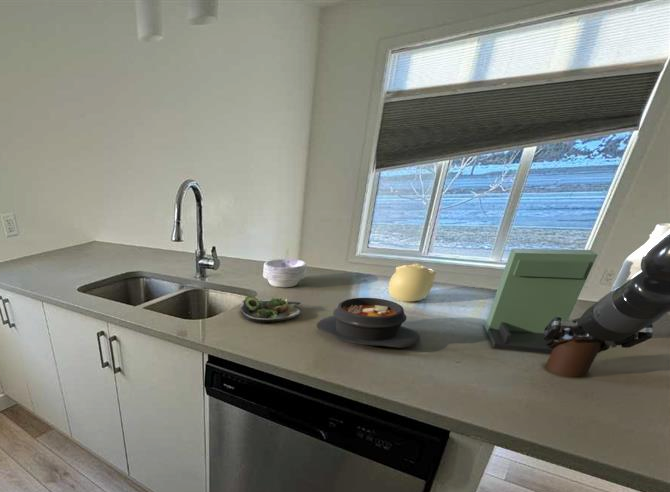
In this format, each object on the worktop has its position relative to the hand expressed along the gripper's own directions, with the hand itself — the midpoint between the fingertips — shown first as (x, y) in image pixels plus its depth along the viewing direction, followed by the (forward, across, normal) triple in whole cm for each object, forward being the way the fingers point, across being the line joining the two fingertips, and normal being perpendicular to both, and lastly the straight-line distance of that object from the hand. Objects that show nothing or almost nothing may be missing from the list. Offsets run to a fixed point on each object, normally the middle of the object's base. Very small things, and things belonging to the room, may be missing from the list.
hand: (572, 346), depth 84 cm
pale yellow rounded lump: (+31, +29, -24) cm, 49 cm away
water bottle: (+19, -14, -12) cm, 26 cm away
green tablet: (+13, +4, -6) cm, 15 cm away
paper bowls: (+36, +69, -29) cm, 84 cm away
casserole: (+7, +39, 0) cm, 40 cm away
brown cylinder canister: (+2, 0, +5) cm, 5 cm away
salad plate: (+14, +68, -7) cm, 69 cm away
